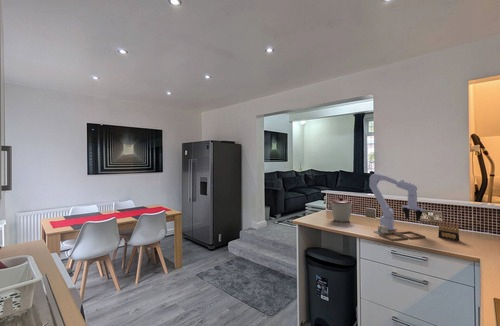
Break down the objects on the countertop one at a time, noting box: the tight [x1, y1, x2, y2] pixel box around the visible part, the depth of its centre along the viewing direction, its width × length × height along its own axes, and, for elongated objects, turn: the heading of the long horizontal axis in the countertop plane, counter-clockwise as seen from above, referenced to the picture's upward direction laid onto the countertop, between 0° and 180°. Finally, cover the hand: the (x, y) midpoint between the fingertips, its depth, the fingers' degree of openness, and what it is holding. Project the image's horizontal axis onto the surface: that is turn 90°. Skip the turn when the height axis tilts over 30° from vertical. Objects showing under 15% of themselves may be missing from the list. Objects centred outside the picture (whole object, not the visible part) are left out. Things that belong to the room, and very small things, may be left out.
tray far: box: [395, 230, 426, 240], centre depth 166 cm, size 12×12×1 cm
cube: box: [377, 224, 389, 233], centre depth 173 cm, size 4×4×4 cm
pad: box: [373, 230, 392, 235], centre depth 173 cm, size 7×10×1 cm
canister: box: [330, 196, 353, 223], centre depth 211 cm, size 18×18×21 cm
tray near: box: [378, 232, 409, 242], centre depth 163 cm, size 12×12×1 cm
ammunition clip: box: [438, 219, 460, 242], centre depth 158 cm, size 11×2×12 cm, turn 40°
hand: (412, 219), depth 174 cm, fingers open, 7 cm apart
